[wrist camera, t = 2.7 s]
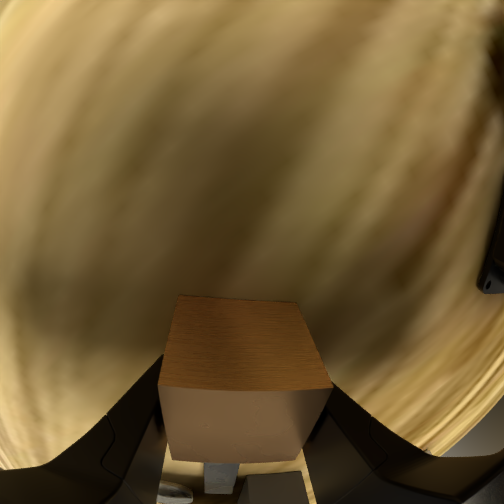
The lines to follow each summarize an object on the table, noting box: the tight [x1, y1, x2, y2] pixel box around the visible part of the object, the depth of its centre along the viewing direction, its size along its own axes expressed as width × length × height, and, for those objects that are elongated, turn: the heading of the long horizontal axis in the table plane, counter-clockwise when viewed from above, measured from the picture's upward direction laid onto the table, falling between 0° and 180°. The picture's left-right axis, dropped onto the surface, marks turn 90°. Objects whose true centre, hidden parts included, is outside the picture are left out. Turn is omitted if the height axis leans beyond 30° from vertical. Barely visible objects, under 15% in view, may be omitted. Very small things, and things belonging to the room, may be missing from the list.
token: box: [157, 480, 193, 504], centre depth 15 cm, size 5×5×1 cm
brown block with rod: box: [158, 295, 334, 494], centre depth 10 cm, size 4×17×4 cm, turn 173°
